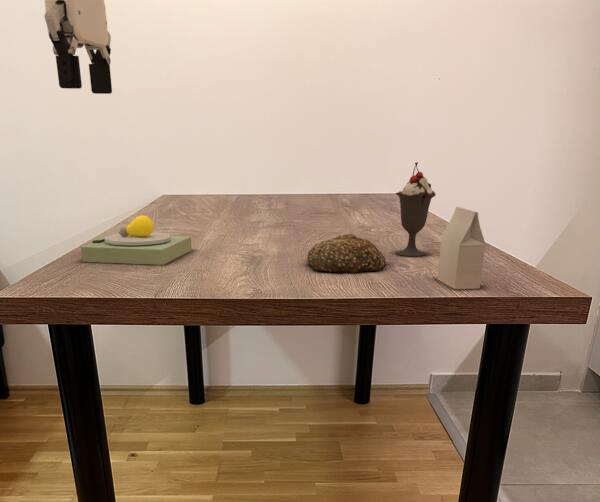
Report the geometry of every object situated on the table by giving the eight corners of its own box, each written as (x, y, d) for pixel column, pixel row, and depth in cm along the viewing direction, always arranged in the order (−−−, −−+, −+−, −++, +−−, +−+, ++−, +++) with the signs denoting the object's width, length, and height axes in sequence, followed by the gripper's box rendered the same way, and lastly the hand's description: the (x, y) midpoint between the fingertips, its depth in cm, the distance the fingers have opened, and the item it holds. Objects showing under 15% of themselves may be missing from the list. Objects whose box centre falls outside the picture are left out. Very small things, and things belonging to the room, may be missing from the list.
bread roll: (305, 273, 97) (306, 239, 94) (307, 258, 108) (307, 227, 106) (390, 274, 96) (392, 240, 94) (383, 259, 107) (385, 228, 105)
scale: (82, 261, 104) (79, 241, 103) (118, 247, 117) (116, 229, 115) (163, 265, 102) (161, 244, 101) (191, 250, 114) (190, 231, 113)
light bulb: (156, 237, 107) (147, 217, 104) (123, 247, 107) (113, 228, 105) (158, 228, 109) (149, 209, 107) (125, 238, 110) (116, 219, 108)
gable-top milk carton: (454, 289, 87) (462, 212, 83) (437, 279, 93) (444, 207, 89) (479, 288, 88) (489, 212, 83) (460, 278, 94) (469, 206, 89)
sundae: (401, 258, 108) (408, 162, 102) (386, 251, 114) (391, 160, 108) (436, 256, 110) (445, 162, 103) (419, 250, 116) (427, 160, 109)
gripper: (77, -33, 96) (90, 95, 103) (10, -68, 81) (32, 85, 88) (124, -34, 95) (134, 95, 102) (65, -70, 80) (82, 86, 87)
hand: (87, 90), depth 95 cm, fingers open, 9 cm apart
